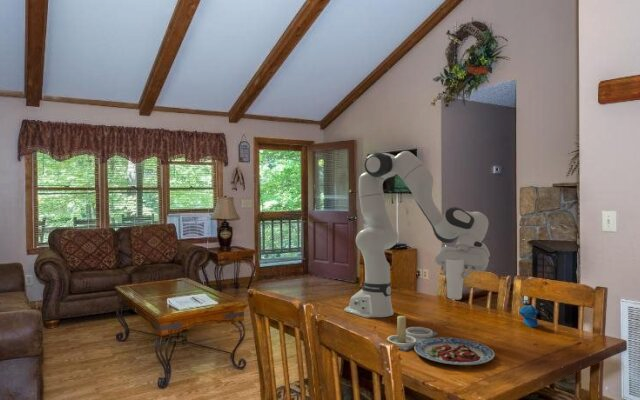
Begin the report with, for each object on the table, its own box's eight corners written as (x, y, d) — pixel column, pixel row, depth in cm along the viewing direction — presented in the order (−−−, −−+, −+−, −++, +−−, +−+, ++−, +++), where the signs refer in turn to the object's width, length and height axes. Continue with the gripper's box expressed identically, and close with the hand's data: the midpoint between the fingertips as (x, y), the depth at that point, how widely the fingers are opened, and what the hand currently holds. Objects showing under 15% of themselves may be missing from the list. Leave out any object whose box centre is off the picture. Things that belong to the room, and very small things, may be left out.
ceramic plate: (489, 346, 166) (489, 337, 166) (500, 374, 141) (500, 364, 141) (415, 341, 172) (415, 333, 172) (413, 367, 147) (413, 357, 147)
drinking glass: (464, 300, 173) (465, 260, 173) (445, 299, 175) (446, 259, 174) (462, 296, 180) (463, 257, 180) (444, 295, 181) (445, 257, 181)
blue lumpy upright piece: (529, 304, 197) (546, 304, 185) (531, 325, 195) (549, 327, 184) (512, 305, 196) (529, 305, 184) (515, 326, 194) (532, 328, 183)
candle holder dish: (381, 345, 167) (381, 317, 166) (414, 329, 185) (414, 305, 185) (406, 351, 160) (406, 322, 160) (437, 334, 179) (437, 309, 178)
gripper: (440, 239, 189) (427, 266, 182) (489, 244, 174) (476, 274, 168) (446, 249, 192) (433, 276, 186) (494, 255, 178) (482, 284, 171)
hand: (454, 275), depth 177 cm, fingers closed on drinking glass, 6 cm apart
